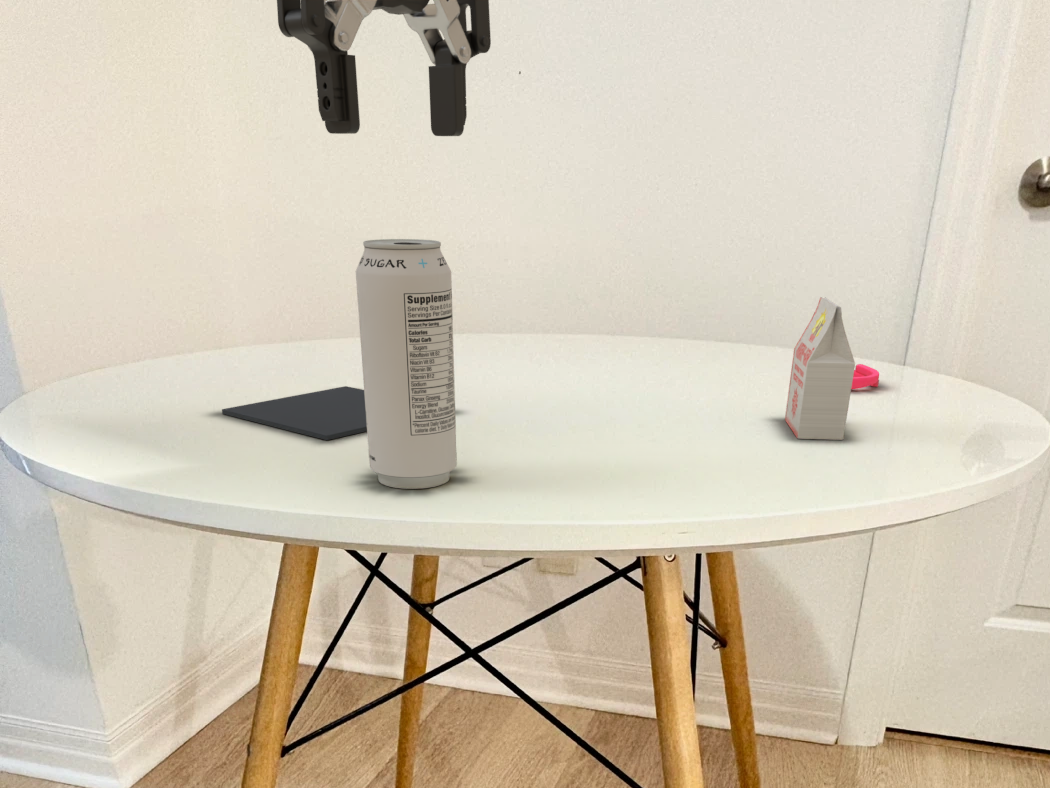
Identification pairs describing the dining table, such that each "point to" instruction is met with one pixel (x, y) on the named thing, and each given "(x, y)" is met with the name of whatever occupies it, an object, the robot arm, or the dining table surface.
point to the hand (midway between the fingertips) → (397, 134)
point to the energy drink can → (407, 361)
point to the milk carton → (821, 377)
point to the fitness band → (865, 377)
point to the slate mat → (311, 413)
